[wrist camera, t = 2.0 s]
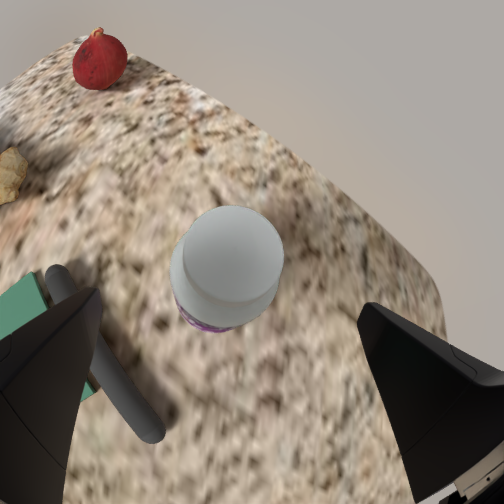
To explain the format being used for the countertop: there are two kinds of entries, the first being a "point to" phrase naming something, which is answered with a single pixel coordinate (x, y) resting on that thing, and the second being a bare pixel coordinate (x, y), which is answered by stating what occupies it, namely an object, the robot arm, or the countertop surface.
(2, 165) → the ginger root
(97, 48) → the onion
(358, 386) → the countertop surface
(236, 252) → the pill bottle
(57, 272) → the dark grey rounded rod
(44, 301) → the pad
